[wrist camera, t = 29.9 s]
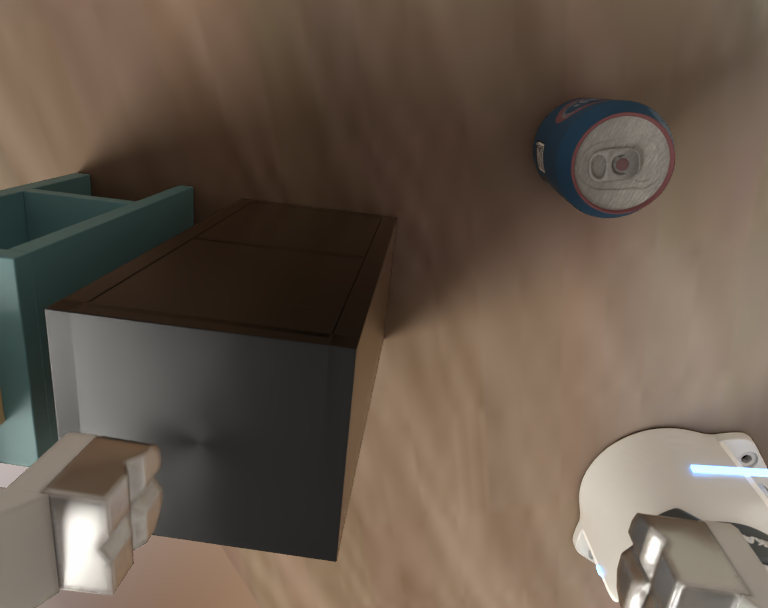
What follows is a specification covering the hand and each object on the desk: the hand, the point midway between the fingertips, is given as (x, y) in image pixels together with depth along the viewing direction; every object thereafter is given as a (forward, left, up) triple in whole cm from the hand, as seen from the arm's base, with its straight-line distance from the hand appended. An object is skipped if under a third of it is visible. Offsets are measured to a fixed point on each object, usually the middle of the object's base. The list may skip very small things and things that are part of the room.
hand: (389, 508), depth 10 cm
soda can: (-6, -10, -39) cm, 41 cm away
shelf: (+1, +12, -39) cm, 41 cm away
